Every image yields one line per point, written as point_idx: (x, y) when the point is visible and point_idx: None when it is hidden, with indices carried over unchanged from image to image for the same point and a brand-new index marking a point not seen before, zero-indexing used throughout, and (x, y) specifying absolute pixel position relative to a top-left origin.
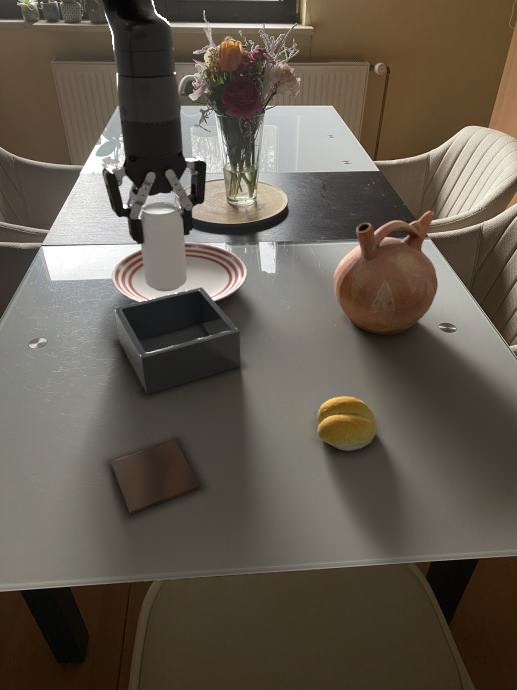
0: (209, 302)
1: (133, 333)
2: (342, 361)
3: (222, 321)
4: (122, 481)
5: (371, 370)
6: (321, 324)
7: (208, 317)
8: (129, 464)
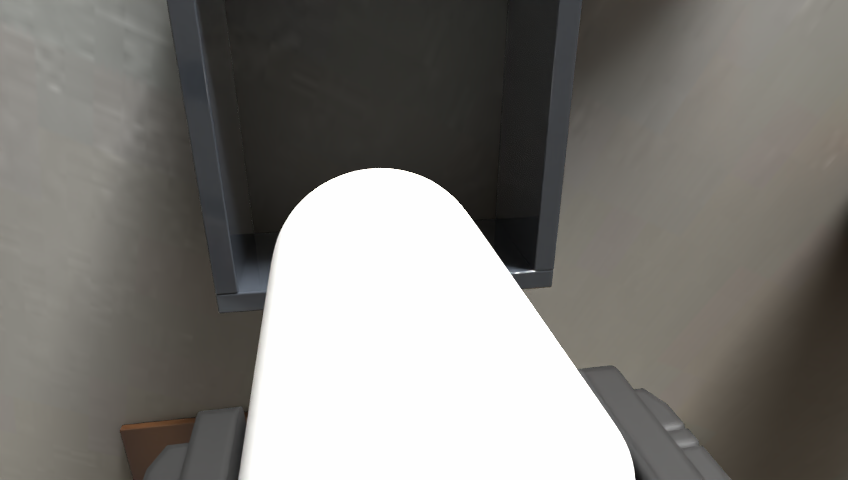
0: (554, 74)
1: (214, 167)
2: (724, 302)
3: (536, 197)
4: (141, 477)
5: (747, 348)
6: (806, 141)
7: (527, 49)
8: (160, 446)
